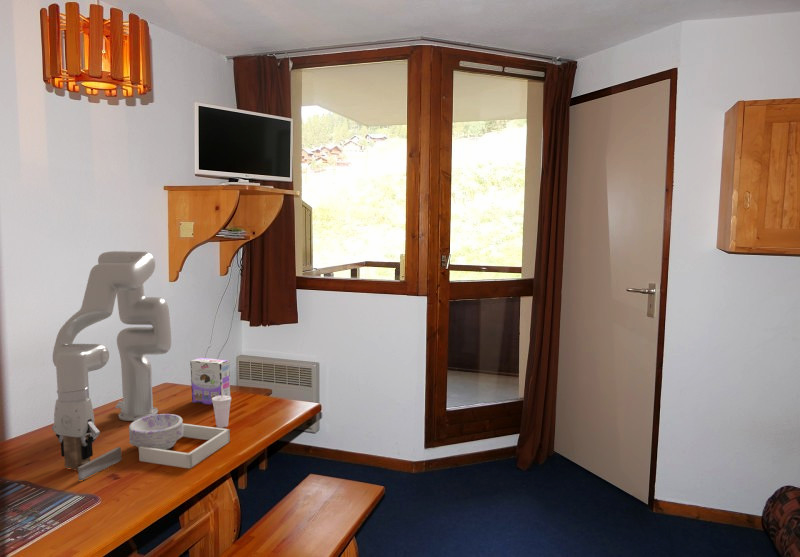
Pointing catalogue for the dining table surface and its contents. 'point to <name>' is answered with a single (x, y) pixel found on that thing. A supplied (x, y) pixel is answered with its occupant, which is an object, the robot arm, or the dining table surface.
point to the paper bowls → (156, 431)
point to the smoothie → (221, 409)
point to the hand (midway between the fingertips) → (77, 455)
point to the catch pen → (188, 460)
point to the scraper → (86, 466)
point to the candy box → (209, 379)
